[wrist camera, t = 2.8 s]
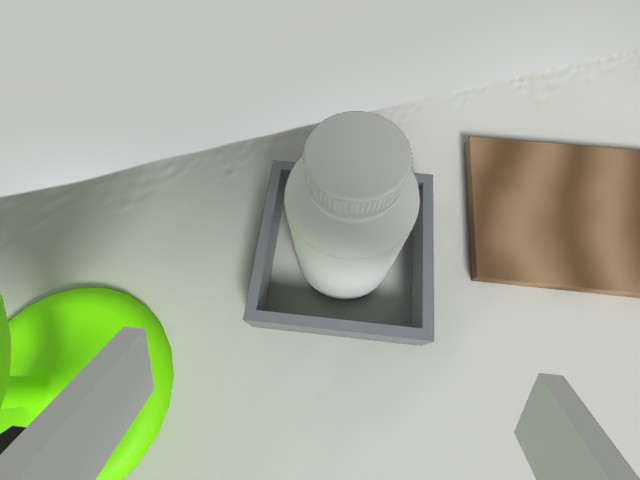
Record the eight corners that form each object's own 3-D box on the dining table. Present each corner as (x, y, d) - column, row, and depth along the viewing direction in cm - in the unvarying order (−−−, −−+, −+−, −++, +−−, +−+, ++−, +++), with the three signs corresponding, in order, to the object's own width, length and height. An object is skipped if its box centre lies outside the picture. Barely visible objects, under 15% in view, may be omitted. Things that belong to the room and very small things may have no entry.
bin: (421, 195, 33) (432, 174, 29) (421, 345, 28) (434, 341, 24) (278, 181, 33) (273, 160, 30) (252, 326, 28) (242, 319, 25)
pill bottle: (323, 201, 33) (323, 69, 19) (403, 238, 31) (468, 125, 17) (280, 274, 30) (243, 184, 16) (365, 318, 29) (405, 262, 15)
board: (653, 159, 34) (664, 152, 33) (693, 303, 29) (708, 300, 28) (464, 143, 35) (469, 136, 34) (471, 280, 30) (477, 276, 28)
